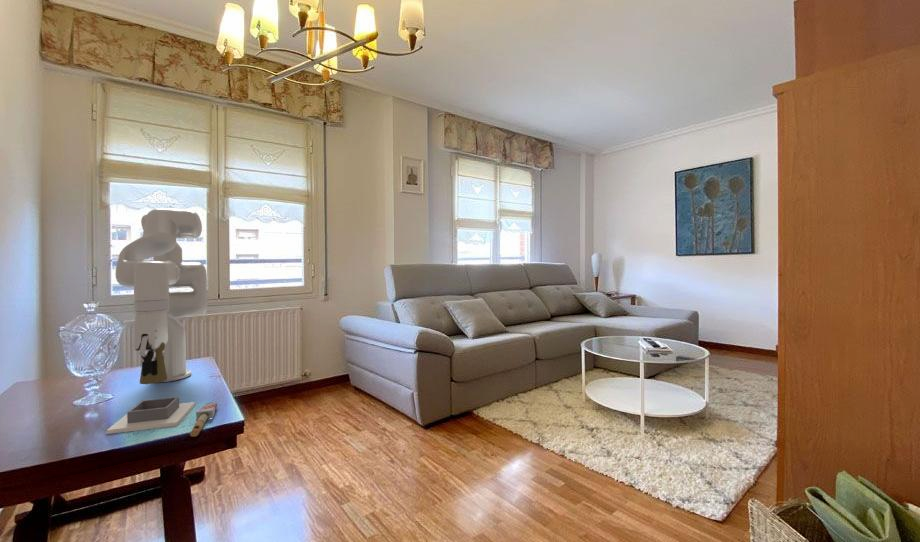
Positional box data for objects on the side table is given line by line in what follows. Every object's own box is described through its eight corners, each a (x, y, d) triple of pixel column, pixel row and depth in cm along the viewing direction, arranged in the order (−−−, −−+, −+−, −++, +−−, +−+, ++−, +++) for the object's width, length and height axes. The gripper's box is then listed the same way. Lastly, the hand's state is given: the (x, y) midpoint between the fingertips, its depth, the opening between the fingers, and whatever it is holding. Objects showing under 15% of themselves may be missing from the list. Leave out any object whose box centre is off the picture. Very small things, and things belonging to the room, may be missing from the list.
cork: (152, 384, 103) (151, 343, 102) (133, 383, 104) (132, 342, 104) (173, 378, 109) (172, 339, 108) (155, 376, 110) (154, 338, 110)
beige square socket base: (134, 411, 111) (133, 397, 111) (195, 405, 116) (194, 392, 116) (106, 434, 97) (106, 418, 97) (177, 425, 102) (177, 410, 102)
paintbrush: (220, 396, 115) (202, 427, 97) (220, 405, 115) (202, 438, 97) (205, 398, 114) (184, 429, 95) (205, 407, 114) (184, 440, 95)
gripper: (148, 303, 112) (150, 366, 113) (120, 311, 97) (121, 383, 97) (179, 302, 115) (180, 364, 115) (156, 309, 99) (157, 380, 100)
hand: (153, 372), depth 106 cm, fingers closed on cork, 4 cm apart
